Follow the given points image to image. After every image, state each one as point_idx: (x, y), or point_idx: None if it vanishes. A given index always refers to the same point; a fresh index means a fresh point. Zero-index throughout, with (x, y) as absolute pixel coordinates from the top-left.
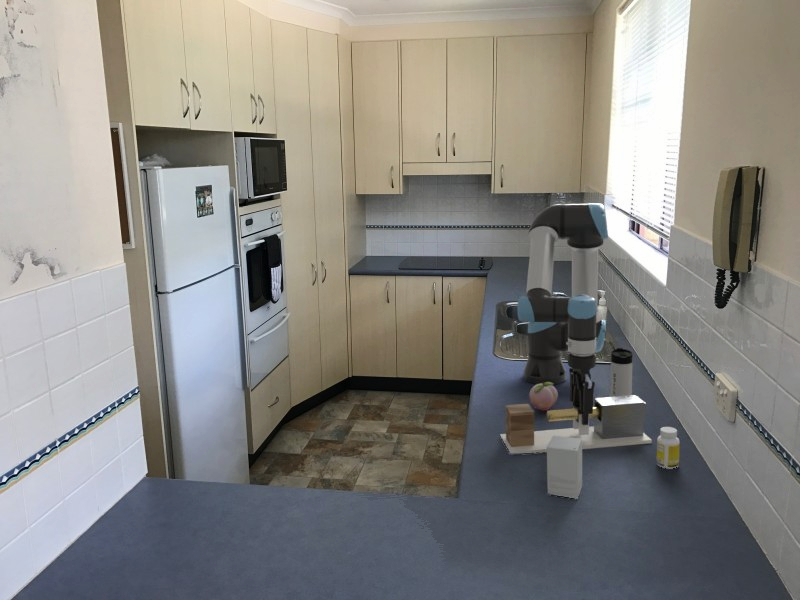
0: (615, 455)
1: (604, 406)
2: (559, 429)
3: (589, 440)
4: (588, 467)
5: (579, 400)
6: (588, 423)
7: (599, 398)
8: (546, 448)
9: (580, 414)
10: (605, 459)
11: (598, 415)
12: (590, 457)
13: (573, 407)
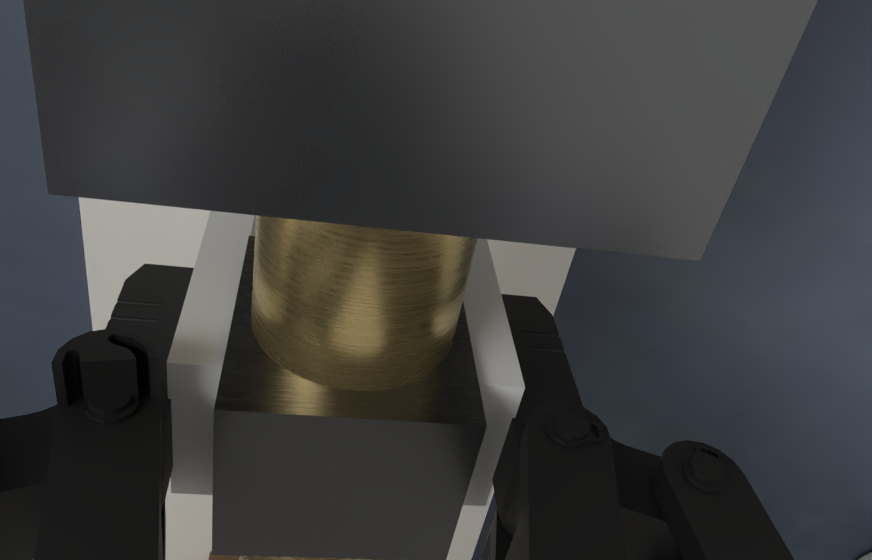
0: (861, 7)
1: (707, 199)
2: (96, 304)
3: None
4: (861, 339)
5: (160, 535)
6: (488, 267)
7: (102, 56)
8: (477, 510)
9: (484, 481)
10: (855, 153)
11: None
12: (737, 253)
13: (171, 484)
